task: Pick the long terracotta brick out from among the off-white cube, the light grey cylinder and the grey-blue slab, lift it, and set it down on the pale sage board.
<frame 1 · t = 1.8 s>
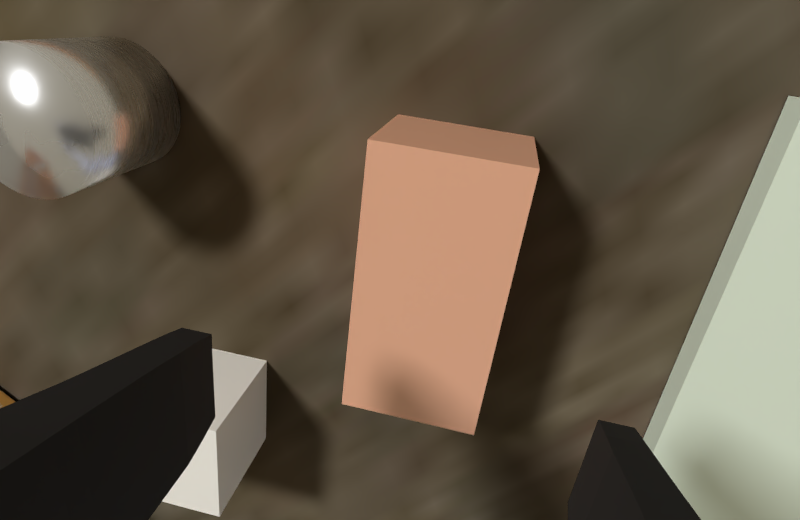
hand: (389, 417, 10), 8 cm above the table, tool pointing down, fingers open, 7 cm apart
terracotta brick: (443, 247, 17), on the table
light grey cylinder: (124, 103, 17), on the table
off-white cube: (221, 388, 22), on the table
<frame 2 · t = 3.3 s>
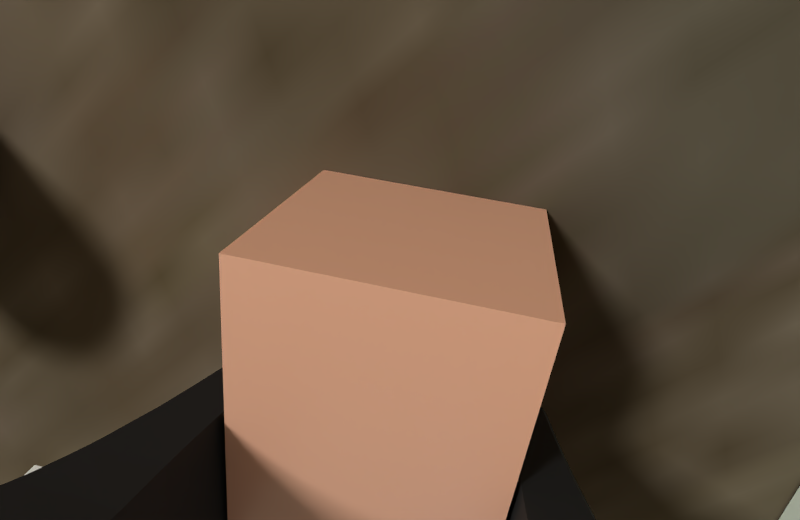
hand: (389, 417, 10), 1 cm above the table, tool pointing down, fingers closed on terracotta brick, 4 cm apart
terracotta brick: (404, 370, 11), on the table, touching gripper
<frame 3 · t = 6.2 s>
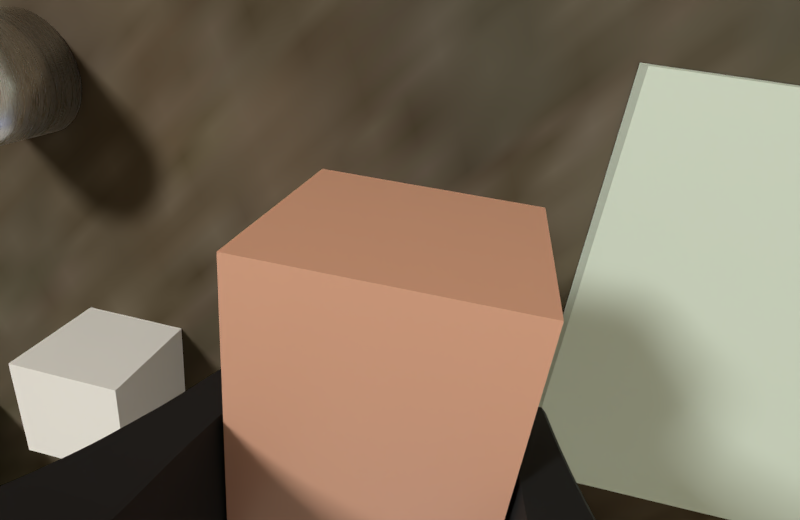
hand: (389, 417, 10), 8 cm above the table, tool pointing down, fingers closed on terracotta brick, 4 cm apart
terracotta brick: (403, 369, 11), point 7 cm above the table, touching gripper
light grey cylinder: (28, 72, 18), on the table
off-white cube: (141, 356, 22), on the table
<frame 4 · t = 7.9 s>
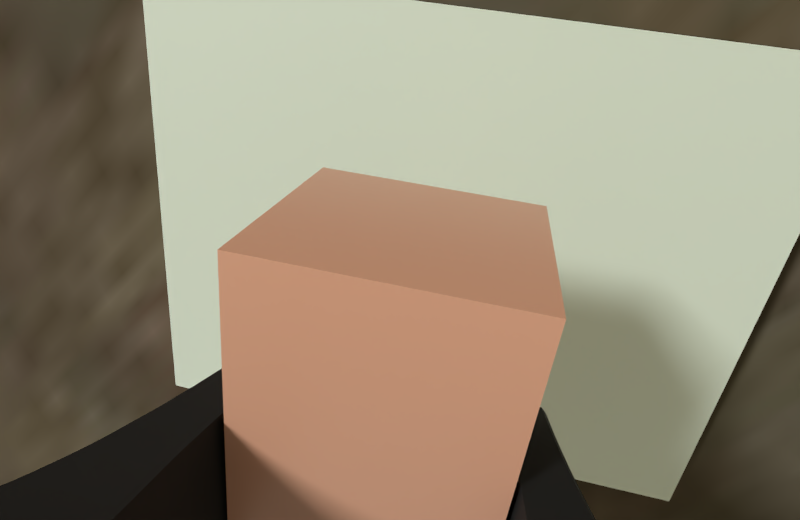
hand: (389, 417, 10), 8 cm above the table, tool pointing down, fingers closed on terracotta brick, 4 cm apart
board: (440, 252, 17), on the table
terracotta brick: (404, 368, 11), point 6 cm above the table, touching gripper
when the fingers open (3 cm above the table, at t = 9.4 s): terracotta brick stays where it is, resting on board.
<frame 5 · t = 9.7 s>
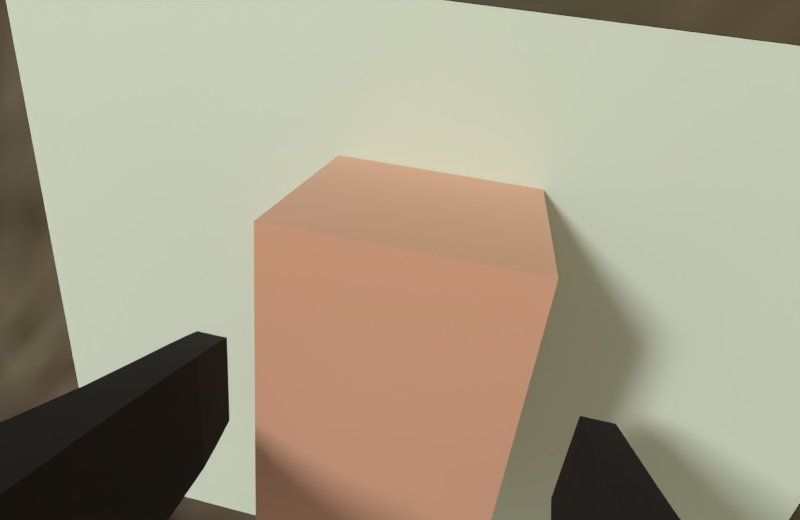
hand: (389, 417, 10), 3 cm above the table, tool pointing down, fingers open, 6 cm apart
board: (419, 322, 13), on the table
terracotta brick: (412, 343, 12), point 1 cm above the table, touching board
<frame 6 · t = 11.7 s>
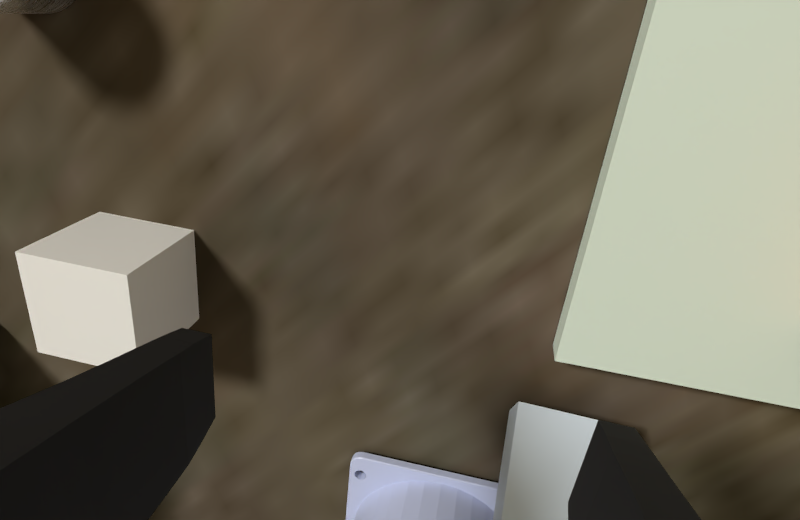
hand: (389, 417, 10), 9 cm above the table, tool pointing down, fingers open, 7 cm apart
off-white cube: (152, 265, 21), on the table
grey-blue slab: (551, 505, 19), point 2 cm above the table, tilted 50°, touching arm
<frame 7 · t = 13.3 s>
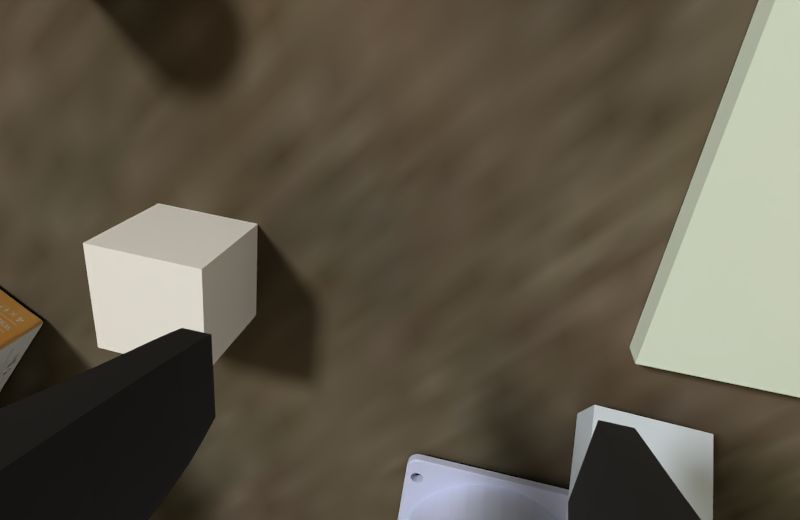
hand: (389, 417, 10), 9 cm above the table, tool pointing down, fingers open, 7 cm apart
off-white cube: (209, 260, 21), on the table
grey-blue slab: (624, 511, 19), point 2 cm above the table, tilted 50°, touching arm
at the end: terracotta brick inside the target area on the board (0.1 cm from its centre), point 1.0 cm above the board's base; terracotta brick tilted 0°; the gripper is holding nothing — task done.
